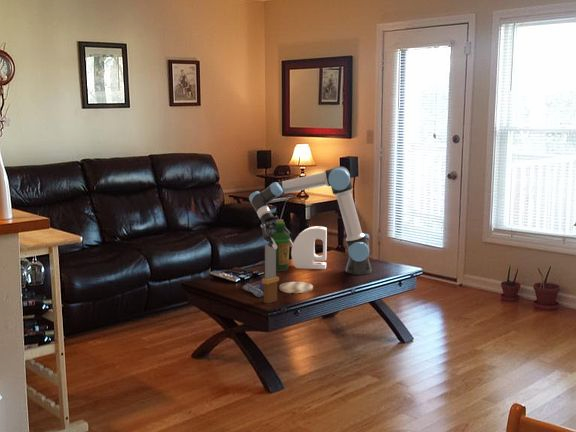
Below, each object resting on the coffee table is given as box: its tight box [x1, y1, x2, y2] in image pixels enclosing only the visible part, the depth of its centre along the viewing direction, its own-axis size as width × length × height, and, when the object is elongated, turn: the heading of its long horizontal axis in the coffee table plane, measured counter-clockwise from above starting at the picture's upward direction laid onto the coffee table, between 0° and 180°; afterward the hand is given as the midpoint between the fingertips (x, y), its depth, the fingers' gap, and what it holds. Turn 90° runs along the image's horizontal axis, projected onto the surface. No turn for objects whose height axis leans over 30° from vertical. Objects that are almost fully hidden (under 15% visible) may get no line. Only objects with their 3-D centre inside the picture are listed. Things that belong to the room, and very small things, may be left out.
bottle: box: [271, 219, 291, 272], centre depth 366 cm, size 11×11×28 cm
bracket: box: [290, 225, 328, 270], centre depth 400 cm, size 7×21×25 cm, turn 82°
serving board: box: [279, 281, 314, 295], centre depth 355 cm, size 18×18×2 cm
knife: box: [261, 244, 280, 304], centre depth 331 cm, size 8×4×30 cm, turn 136°
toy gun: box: [242, 280, 264, 298], centre depth 350 cm, size 4×19×15 cm
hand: (284, 247), depth 364 cm, fingers closed on bottle, 10 cm apart
